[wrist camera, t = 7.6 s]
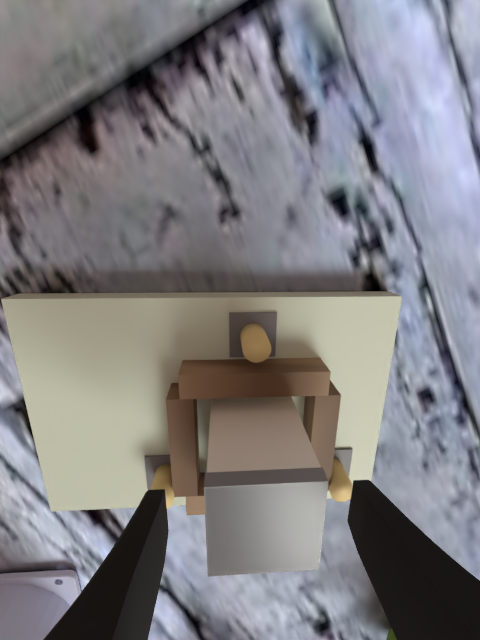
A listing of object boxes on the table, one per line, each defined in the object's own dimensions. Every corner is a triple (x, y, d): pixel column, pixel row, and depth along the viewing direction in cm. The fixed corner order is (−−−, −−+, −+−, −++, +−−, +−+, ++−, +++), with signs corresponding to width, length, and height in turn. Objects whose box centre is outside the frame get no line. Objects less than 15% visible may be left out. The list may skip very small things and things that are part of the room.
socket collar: (178, 490, 16) (174, 515, 15) (169, 360, 14) (164, 375, 13) (318, 484, 17) (327, 508, 15) (331, 357, 15) (344, 371, 13)
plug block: (212, 462, 16) (208, 576, 11) (210, 395, 15) (204, 487, 10) (287, 459, 16) (318, 569, 11) (291, 393, 15) (328, 481, 10)
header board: (62, 492, 17) (30, 544, 15) (19, 293, 14) (-34, 309, 11) (359, 480, 18) (384, 526, 16) (388, 291, 15) (427, 305, 12)
